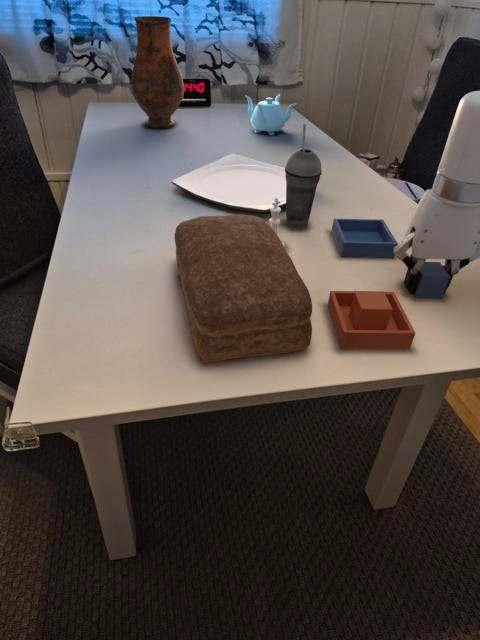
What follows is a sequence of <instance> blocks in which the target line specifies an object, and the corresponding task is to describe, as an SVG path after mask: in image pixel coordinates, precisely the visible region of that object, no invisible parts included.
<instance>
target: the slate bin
mask: <svg viewBox="0 0 480 640" xmlns="http://www.w3.org/2000/svg"><path fill="white" fill-rule="evenodd" d="M331 225H332V226H331V232H330V233H331V235H332V237H333V241H334V242H335V245H336V247H337V250H338V252H339V256H340V257H341V258H364V259H365V258H369V259H371V258H372V259H394V258H395V257H396V256H395V255H394V253H393V249H394V248H395V247H396V246H397V245H398V244H399V242H397V240H396V238H395V236H394V235H393V233H392V232H391V230H390V229H389V227H388V225H387V224H386V222H385V220H384V219H374V218H373V219H372V218H369V219H368V218H333V220H332V224H331Z"/></svg>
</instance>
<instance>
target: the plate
mask: <svg viewBox="0 0 480 640" xmlns="http://www.w3.org/2000/svg"><path fill="white" fill-rule="evenodd" d="M285 168H286V167H283V166H280V165H275V164H272V163H269V162H265V161H260V160H257V159H254V158H252V157H251V158H250V157H247V156H243V155H240V154H238V153H230V154H228V155H226V156H223V157H221V158H219V159H216V160H214V161H212V162H210V163H208V164H205V165H203V166H201V167H198V168H196V169H194V170H192V171H190V172H188V173H185V174H184V175H180V176H178V177H176V178H173V179H172V180H171V184H172V185H174V186H175V187H177V188H179V189H181V190H183V191H185V192H186V193H188V194H190V195H192V196H194V197H195V198H198V199H201V200H204V201H207V202H211V203H213V204H217V205H220V206H223V207H225V208H226V207H227V208H230V209H235V210H241V211H246V212H252V213H259V214H266V213H269V212H271V211H270V208H271V207H273V205H272V203H273V202H275V198H278V200H279V201H280V204H278V207H280V208H283V207H286V177H285V173H286V172H285Z"/></svg>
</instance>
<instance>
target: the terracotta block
mask: <svg viewBox="0 0 480 640" xmlns="http://www.w3.org/2000/svg"><path fill="white" fill-rule="evenodd" d="M353 291H354V295H353V299H352V304H351V308H350V312H349V316H350V319H351V322H352V325H353V327H354V330H386V329H387V326H388V323H389V320H390V316H391V313H392V310H393V309H392V307H391V305H390V303H389V301H388V299H387V296H386V294H385V292H386V291H385V290H384V291H383V290H353Z"/></svg>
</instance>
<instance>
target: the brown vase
mask: <svg viewBox="0 0 480 640" xmlns="http://www.w3.org/2000/svg"><path fill="white" fill-rule="evenodd" d="M134 21H135V26H136V37H137V43H136V44H137V45H136V47H137V48H136V54H135V59H134V62H133V68H132V73H131V90H132V93H133V98H134V100H135V101H136V103H137V105H138V106H139V108H140V109H141V110H142V111H143V112H144V114H145V115H146V116H147V118H148V119H146V120H145V122H144V124H145V126H146V127H147V128H150V129H154V130H155V129H156V130H162V129H169V128H173V127H175V125H176V122H175V120H173V118H172V116H173V115H174V113H175V112H176V111H177V110H178V108H179V107H180V105H181V102H182V100H183V98H184V94H185V82H184V78H183V74H182V71H181V69H180V66H179V65H178V62H177V59H176V57H175V54H174V51H173V43H172V35H171V23H172V18H171V17H169V16H158V15H157V16H155V15H152V16H151V15H146V16H145V15H144V16H143V15H142V16H141V15H140V16H135V17H134Z"/></svg>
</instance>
